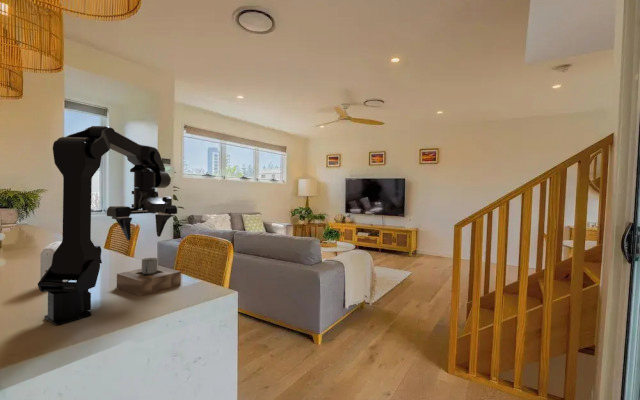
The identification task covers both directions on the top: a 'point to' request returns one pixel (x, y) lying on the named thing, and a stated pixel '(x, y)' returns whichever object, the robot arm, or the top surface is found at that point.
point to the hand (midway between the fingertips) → (144, 238)
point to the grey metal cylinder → (149, 266)
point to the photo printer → (48, 257)
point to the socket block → (148, 280)
